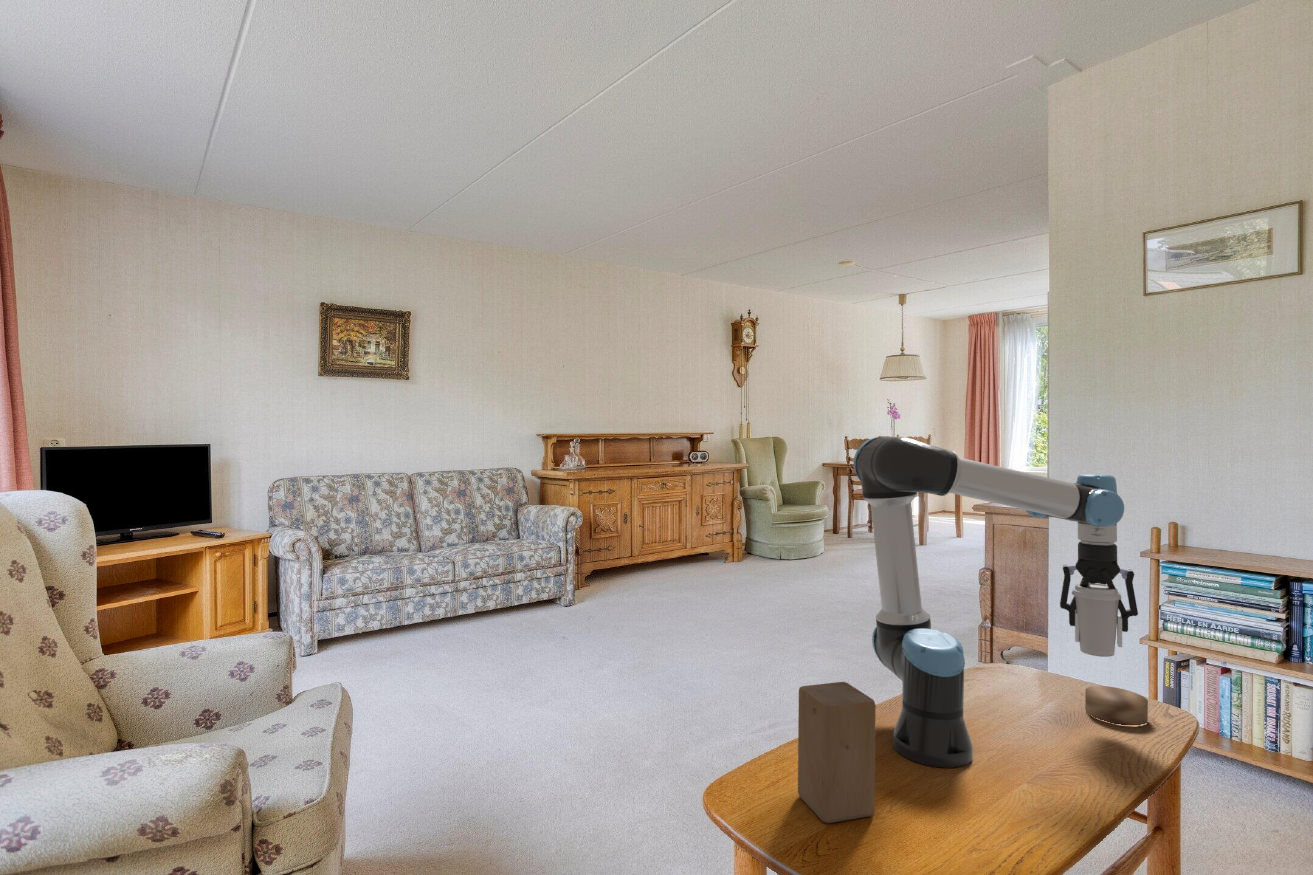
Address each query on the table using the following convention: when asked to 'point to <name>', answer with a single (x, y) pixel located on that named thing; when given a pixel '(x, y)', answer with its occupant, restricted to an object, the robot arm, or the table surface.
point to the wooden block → (836, 751)
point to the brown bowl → (1116, 705)
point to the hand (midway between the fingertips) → (1098, 642)
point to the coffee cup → (1097, 618)
